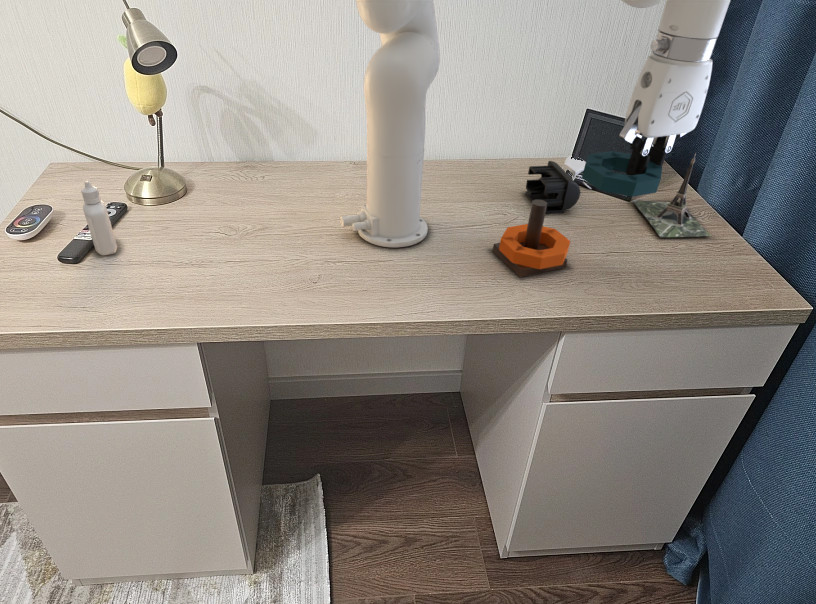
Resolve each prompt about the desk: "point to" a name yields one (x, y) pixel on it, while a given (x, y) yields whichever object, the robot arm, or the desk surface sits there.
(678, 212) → the eiffel tower figurine
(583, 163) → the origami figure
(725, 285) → the desk surface
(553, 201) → the end cap
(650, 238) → the desk surface
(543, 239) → the orange ring
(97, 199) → the eye dropper bottle
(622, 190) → the teal ring
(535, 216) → the peg stand
